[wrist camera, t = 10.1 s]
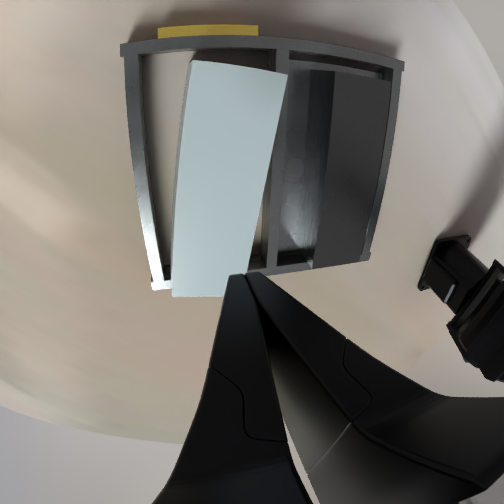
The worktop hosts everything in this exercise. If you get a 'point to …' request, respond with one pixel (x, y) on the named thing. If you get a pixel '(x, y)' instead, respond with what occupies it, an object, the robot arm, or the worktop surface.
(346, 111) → the rack
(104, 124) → the worktop surface
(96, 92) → the worktop surface
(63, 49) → the worktop surface
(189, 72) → the panel
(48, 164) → the worktop surface
